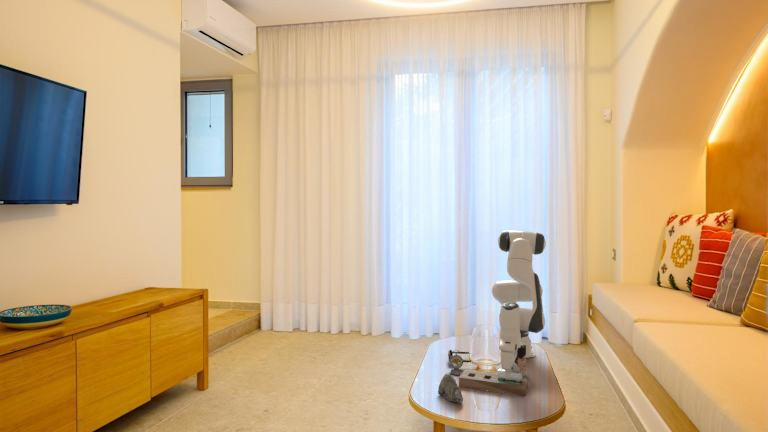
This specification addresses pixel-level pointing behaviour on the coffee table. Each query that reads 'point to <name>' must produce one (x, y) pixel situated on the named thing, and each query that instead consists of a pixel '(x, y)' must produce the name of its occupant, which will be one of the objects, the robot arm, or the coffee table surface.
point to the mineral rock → (450, 389)
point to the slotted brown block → (492, 383)
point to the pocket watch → (456, 367)
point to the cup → (521, 359)
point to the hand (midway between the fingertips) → (509, 373)
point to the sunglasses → (457, 353)
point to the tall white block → (513, 375)
